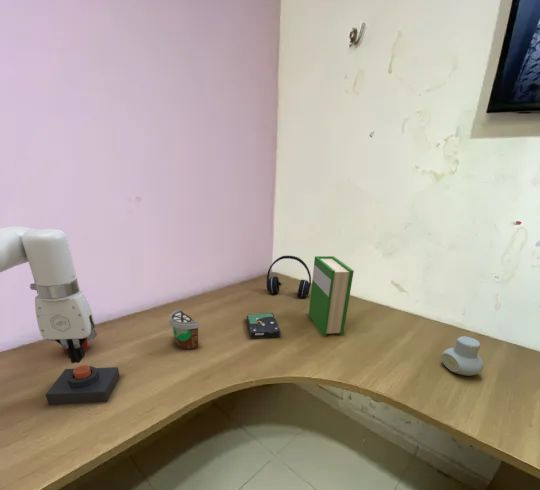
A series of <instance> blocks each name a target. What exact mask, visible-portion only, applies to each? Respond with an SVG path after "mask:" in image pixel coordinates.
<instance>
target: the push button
mask: <svg viewBox="0 0 540 490" xmlns="http://www.w3.org/2000/svg"><path fill="white" fill-rule="evenodd" d="M89 366H90V365H87V364H83V365H79V366H76V367H74V368H73V369H74V370H73V374H74V377H75V379H83V378H86V377H88V376H90V375H91V370H90V367H89Z"/></svg>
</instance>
